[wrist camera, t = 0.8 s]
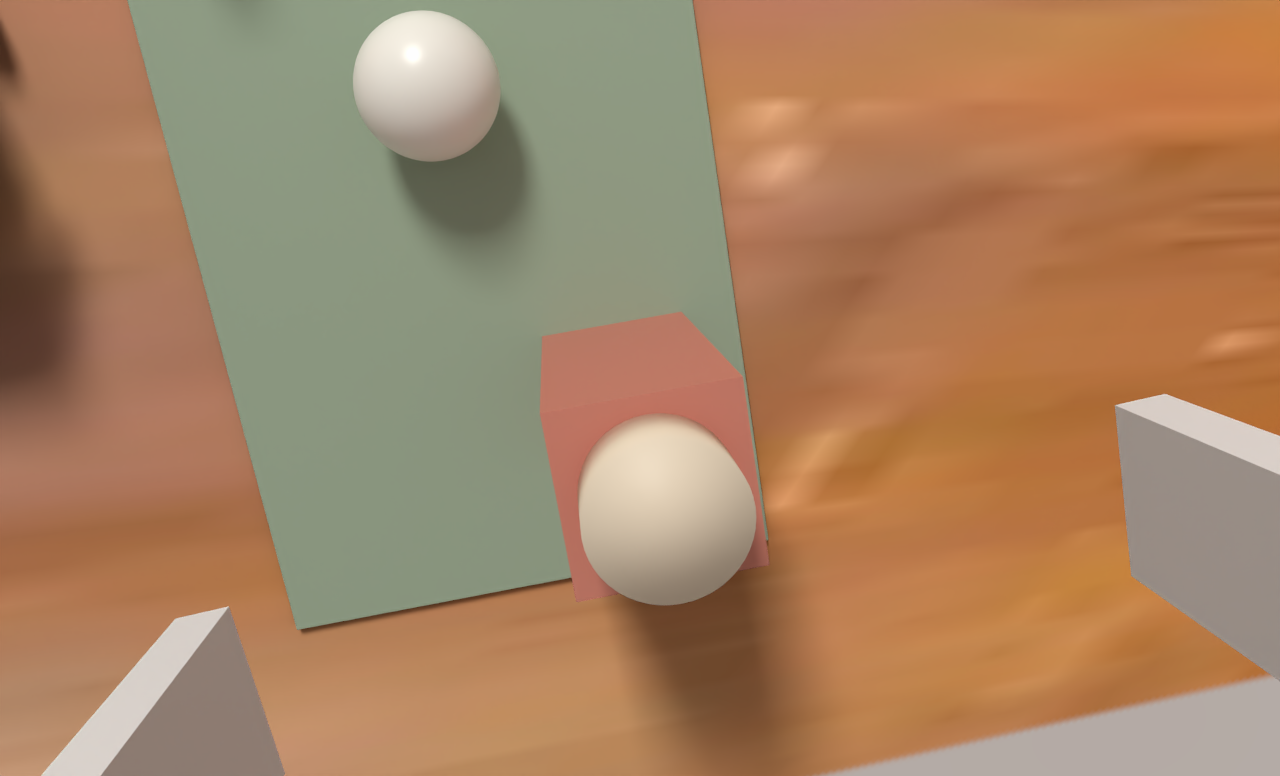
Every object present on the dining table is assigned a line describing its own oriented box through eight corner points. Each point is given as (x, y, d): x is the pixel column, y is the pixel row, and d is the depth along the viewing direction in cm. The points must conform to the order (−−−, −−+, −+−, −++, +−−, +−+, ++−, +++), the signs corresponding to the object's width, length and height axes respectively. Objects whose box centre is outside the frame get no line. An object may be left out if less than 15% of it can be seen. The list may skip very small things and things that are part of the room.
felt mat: (298, 626, 32) (297, 629, 32) (-29, -592, 24) (-34, -598, 24) (767, 537, 33) (768, 540, 33) (597, -667, 25) (597, -674, 25)
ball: (383, 172, 29) (358, 172, 25) (353, 33, 28) (322, 11, 24) (515, 150, 29) (510, 147, 25) (489, 12, 28) (480, -14, 25)
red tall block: (567, 469, 32) (579, 644, 20) (542, 336, 31) (539, 438, 19) (702, 444, 32) (790, 602, 20) (681, 311, 31) (762, 397, 19)
